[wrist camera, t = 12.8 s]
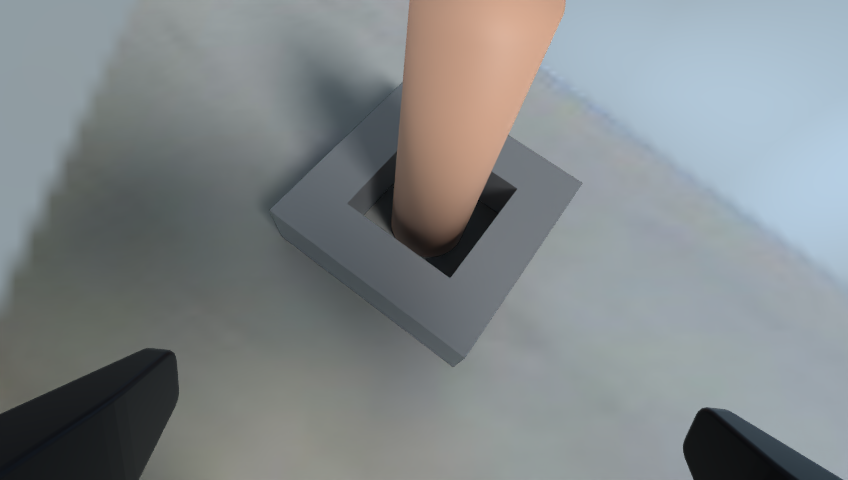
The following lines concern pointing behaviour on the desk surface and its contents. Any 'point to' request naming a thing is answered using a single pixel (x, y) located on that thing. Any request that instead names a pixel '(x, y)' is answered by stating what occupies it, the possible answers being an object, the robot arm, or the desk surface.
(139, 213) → the desk surface
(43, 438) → the robot arm
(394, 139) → the socket block
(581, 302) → the desk surface
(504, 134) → the peg
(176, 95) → the desk surface
